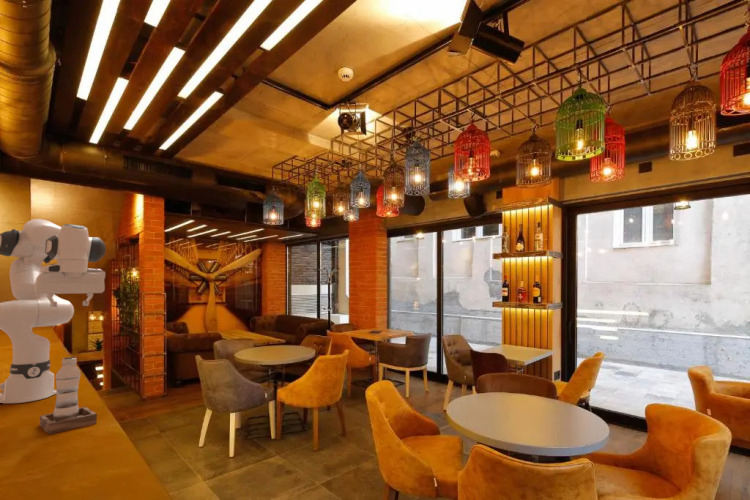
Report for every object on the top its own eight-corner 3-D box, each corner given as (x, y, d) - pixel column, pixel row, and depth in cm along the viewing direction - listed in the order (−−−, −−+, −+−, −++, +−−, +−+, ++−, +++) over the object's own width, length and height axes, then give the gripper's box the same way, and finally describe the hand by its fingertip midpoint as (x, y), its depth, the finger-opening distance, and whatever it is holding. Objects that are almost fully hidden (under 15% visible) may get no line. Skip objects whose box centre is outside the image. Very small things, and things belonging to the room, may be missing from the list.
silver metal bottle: (64, 425, 121) (69, 360, 123) (46, 424, 122) (51, 359, 124) (83, 418, 127) (87, 356, 129) (66, 417, 128) (70, 356, 130)
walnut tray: (39, 425, 124) (40, 416, 124) (84, 415, 133) (85, 406, 133) (48, 434, 116) (49, 424, 117) (96, 423, 126) (96, 413, 126)
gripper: (102, 269, 152) (100, 304, 151) (34, 267, 136) (31, 307, 135) (108, 268, 148) (106, 305, 147) (38, 266, 132) (35, 307, 131)
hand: (70, 306), depth 141 cm, fingers open, 8 cm apart
